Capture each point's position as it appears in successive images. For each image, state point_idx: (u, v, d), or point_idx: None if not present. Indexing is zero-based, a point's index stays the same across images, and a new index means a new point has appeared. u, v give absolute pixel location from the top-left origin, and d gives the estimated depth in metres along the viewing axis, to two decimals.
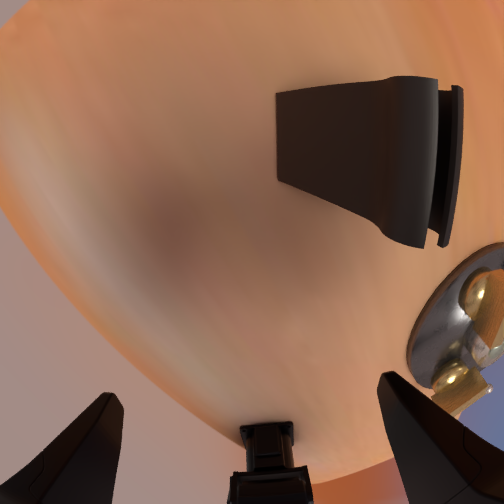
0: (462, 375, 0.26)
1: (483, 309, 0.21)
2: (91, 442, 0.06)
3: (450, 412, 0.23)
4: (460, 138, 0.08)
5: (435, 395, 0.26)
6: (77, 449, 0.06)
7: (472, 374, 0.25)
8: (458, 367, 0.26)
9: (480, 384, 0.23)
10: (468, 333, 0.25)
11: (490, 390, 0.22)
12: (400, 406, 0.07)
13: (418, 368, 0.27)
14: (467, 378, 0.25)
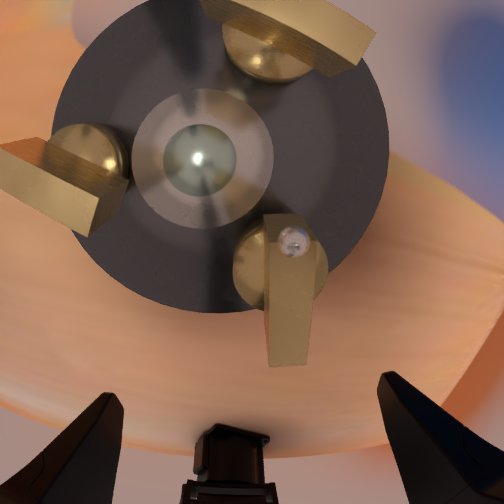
0: (262, 251, 0.15)
1: None
2: (91, 442, 0.06)
3: (268, 349, 0.13)
4: None
5: (265, 317, 0.16)
6: (77, 449, 0.06)
7: (264, 236, 0.14)
8: (237, 250, 0.15)
9: (267, 250, 0.12)
10: None
11: (287, 246, 0.11)
12: (400, 406, 0.07)
13: (201, 302, 0.19)
14: (264, 252, 0.14)
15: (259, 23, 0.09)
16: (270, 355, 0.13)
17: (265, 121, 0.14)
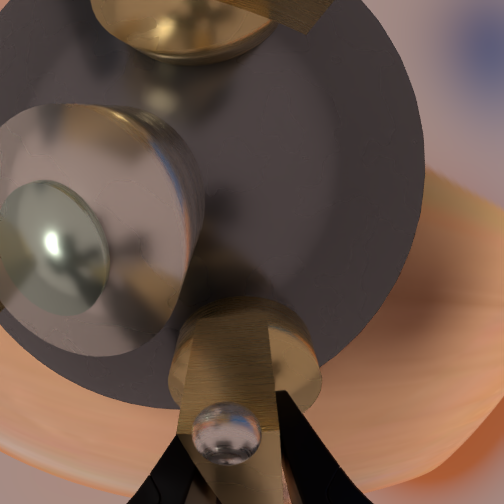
0: None
1: None
2: None
3: None
4: None
5: None
6: None
7: None
8: (172, 361, 0.09)
9: None
10: None
11: (207, 456, 0.04)
12: None
13: (151, 398, 0.12)
14: None
15: None
16: None
17: (195, 136, 0.08)
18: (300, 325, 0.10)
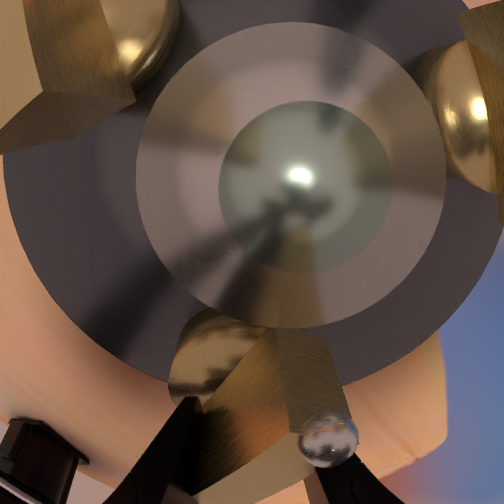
0: (237, 364, 0.08)
1: None
2: (185, 453, 0.06)
3: None
4: None
5: None
6: (175, 464, 0.06)
7: (259, 360, 0.07)
8: (197, 338, 0.09)
9: (266, 416, 0.06)
10: None
11: (321, 457, 0.04)
12: None
13: (103, 333, 0.11)
14: (243, 378, 0.07)
15: None
16: None
17: None
18: None
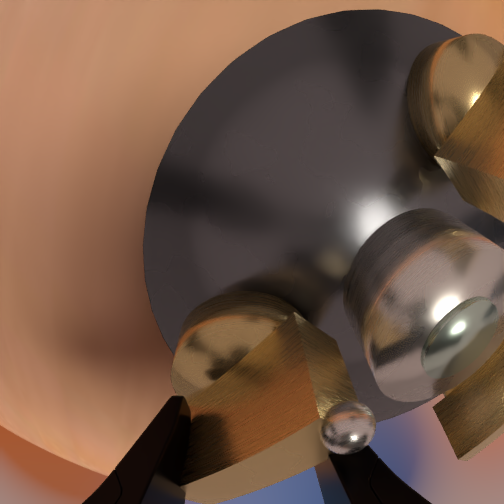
0: (248, 353, 0.09)
1: (493, 96, 0.05)
2: (169, 452, 0.06)
3: (180, 484, 0.07)
4: None
5: None
6: (159, 462, 0.06)
7: (277, 350, 0.08)
8: (211, 323, 0.09)
9: (289, 403, 0.06)
10: (387, 231, 0.09)
11: (345, 443, 0.05)
12: None
13: (170, 213, 0.09)
14: (257, 367, 0.08)
15: None
16: None
17: None
18: None
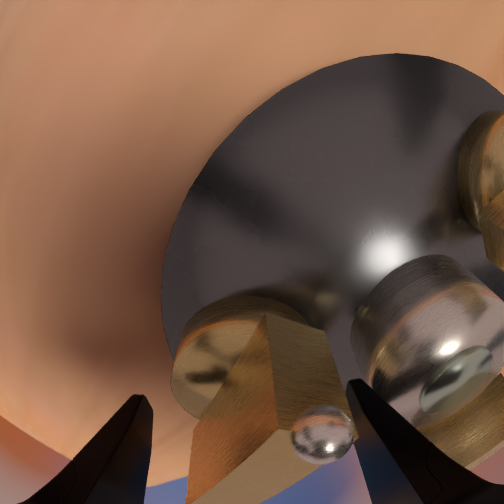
0: (235, 361, 0.08)
1: None
2: (124, 448, 0.06)
3: (194, 498, 0.06)
4: None
5: (197, 427, 0.10)
6: (111, 456, 0.06)
7: (254, 355, 0.07)
8: (194, 338, 0.09)
9: (258, 412, 0.05)
10: (412, 269, 0.09)
11: (313, 455, 0.04)
12: (363, 416, 0.07)
13: (213, 201, 0.09)
14: (240, 375, 0.07)
15: (480, 432, 0.09)
16: (193, 503, 0.06)
17: None
18: None
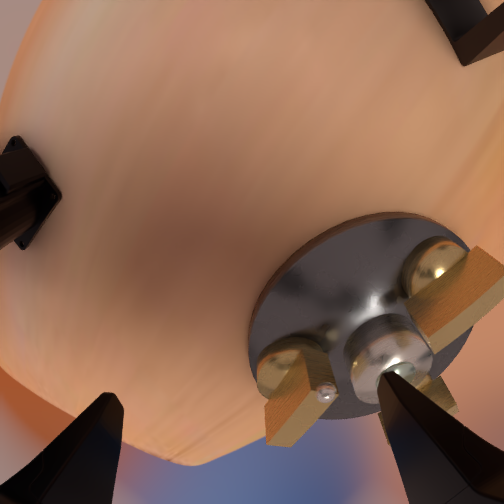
0: (289, 368, 0.18)
1: (441, 283, 0.15)
2: (91, 442, 0.06)
3: (272, 436, 0.17)
4: None
5: (267, 404, 0.20)
6: (77, 449, 0.06)
7: (298, 366, 0.17)
8: (269, 359, 0.19)
9: (303, 387, 0.15)
10: (373, 323, 0.19)
11: (322, 398, 0.14)
12: (400, 406, 0.07)
13: (280, 298, 0.19)
14: (292, 374, 0.17)
15: None
16: (271, 439, 0.17)
17: None
18: None
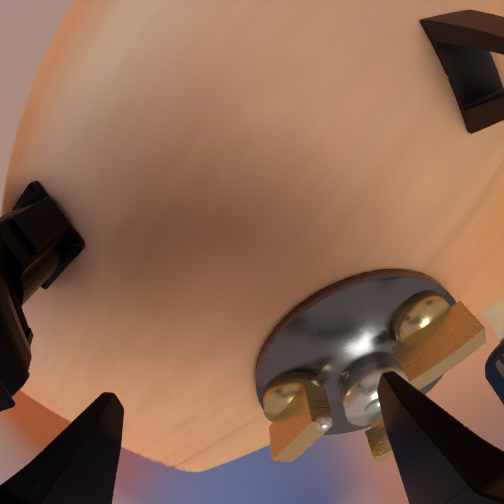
0: (292, 399, 0.21)
1: (425, 333, 0.18)
2: (91, 442, 0.06)
3: (277, 454, 0.19)
4: None
5: (272, 425, 0.22)
6: (77, 449, 0.06)
7: (300, 398, 0.20)
8: (275, 391, 0.21)
9: (304, 417, 0.18)
10: (365, 360, 0.22)
11: (321, 427, 0.17)
12: (400, 406, 0.07)
13: (287, 342, 0.21)
14: (295, 404, 0.20)
15: None
16: (276, 456, 0.19)
17: None
18: None
